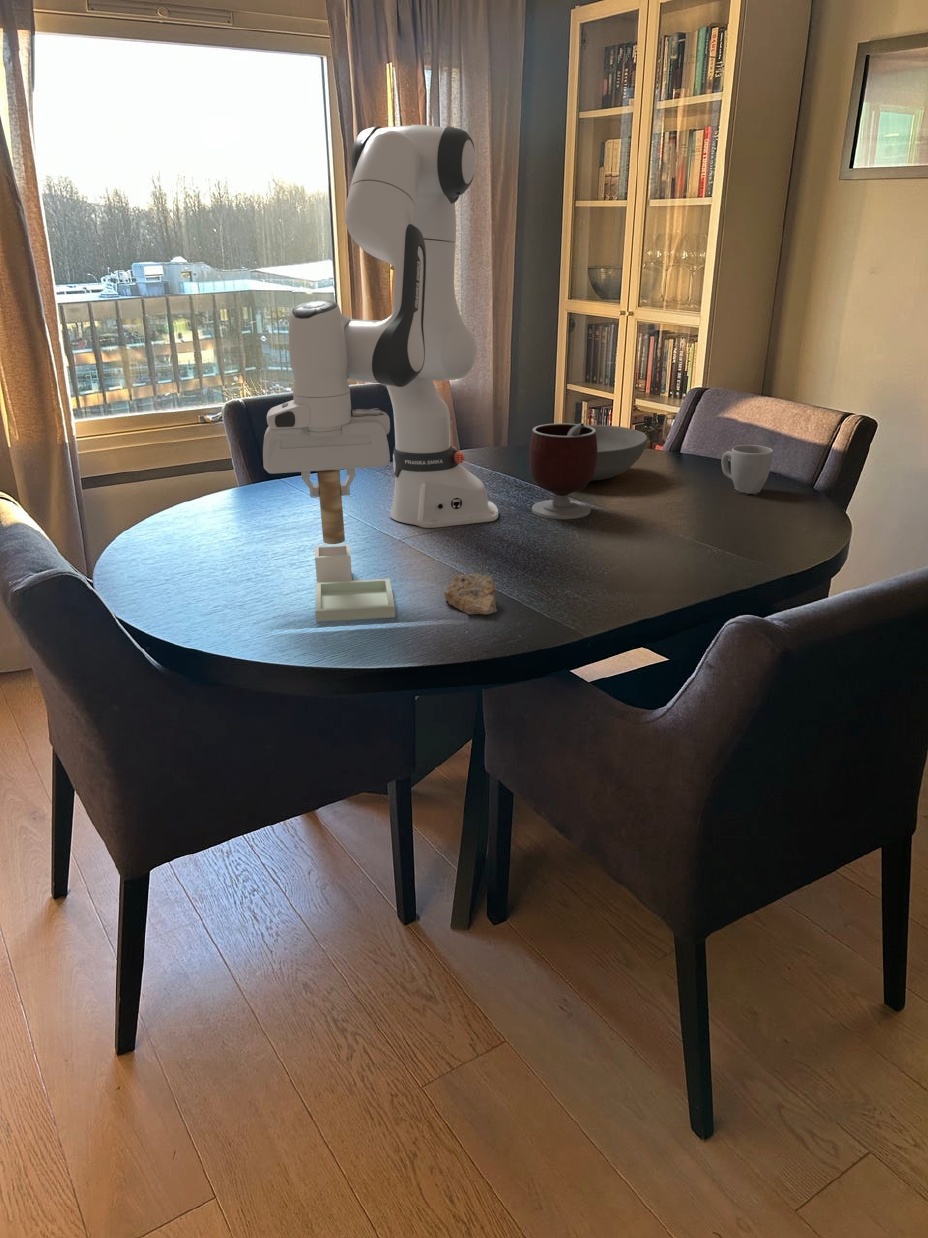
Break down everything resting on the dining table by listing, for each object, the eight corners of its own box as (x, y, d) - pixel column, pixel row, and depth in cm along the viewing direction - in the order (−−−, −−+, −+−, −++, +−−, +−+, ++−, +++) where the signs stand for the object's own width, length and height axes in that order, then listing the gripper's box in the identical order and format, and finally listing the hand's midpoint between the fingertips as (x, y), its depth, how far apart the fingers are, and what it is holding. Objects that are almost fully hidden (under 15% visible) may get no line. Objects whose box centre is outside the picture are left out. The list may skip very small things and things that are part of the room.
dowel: (344, 536, 155) (339, 466, 150) (345, 543, 152) (339, 472, 147) (323, 537, 154) (317, 468, 149) (323, 544, 151) (317, 473, 146)
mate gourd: (518, 504, 197) (520, 411, 189) (577, 498, 201) (581, 407, 193) (546, 525, 184) (549, 425, 176) (608, 518, 188) (614, 420, 180)
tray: (390, 591, 151) (389, 578, 150) (395, 620, 140) (394, 606, 139) (316, 595, 150) (315, 582, 149) (316, 625, 139) (315, 611, 138)
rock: (442, 596, 150) (440, 608, 140) (451, 561, 149) (450, 571, 139) (493, 609, 151) (495, 622, 141) (503, 575, 149) (505, 586, 140)
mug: (776, 492, 205) (781, 449, 202) (752, 499, 200) (757, 455, 197) (731, 481, 214) (736, 440, 210) (707, 487, 209) (712, 445, 205)
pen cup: (351, 574, 158) (349, 544, 156) (352, 587, 153) (350, 555, 151) (317, 576, 158) (315, 546, 156) (317, 588, 152) (315, 557, 150)
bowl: (653, 491, 206) (657, 447, 203) (536, 491, 207) (537, 447, 203) (635, 463, 231) (637, 423, 227) (530, 463, 231) (531, 423, 227)
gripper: (387, 403, 148) (392, 486, 154) (259, 410, 146) (268, 493, 151) (390, 411, 143) (395, 497, 148) (256, 418, 140) (266, 505, 146)
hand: (330, 495), depth 150 cm, fingers closed on dowel, 4 cm apart
